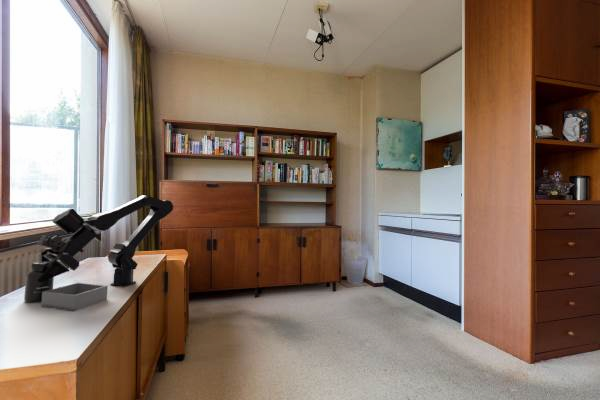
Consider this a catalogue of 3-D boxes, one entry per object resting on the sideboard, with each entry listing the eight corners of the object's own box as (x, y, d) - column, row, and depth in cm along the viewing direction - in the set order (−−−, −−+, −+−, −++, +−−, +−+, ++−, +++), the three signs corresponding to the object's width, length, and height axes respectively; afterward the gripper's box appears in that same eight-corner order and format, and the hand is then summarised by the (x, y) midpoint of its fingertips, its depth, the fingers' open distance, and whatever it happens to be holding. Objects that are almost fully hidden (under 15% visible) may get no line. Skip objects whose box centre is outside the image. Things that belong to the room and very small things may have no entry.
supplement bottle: (39, 303, 92) (42, 264, 93) (17, 302, 92) (20, 263, 93) (58, 297, 99) (60, 260, 99) (37, 296, 99) (40, 259, 99)
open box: (77, 295, 101) (77, 282, 101) (106, 299, 99) (107, 285, 99) (41, 306, 90) (42, 291, 90) (73, 311, 87) (74, 295, 87)
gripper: (47, 224, 105) (2, 260, 95) (70, 228, 94) (21, 268, 85) (72, 245, 111) (32, 280, 102) (96, 251, 101) (53, 290, 91)
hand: (34, 279), depth 95 cm, fingers closed on supplement bottle, 7 cm apart
